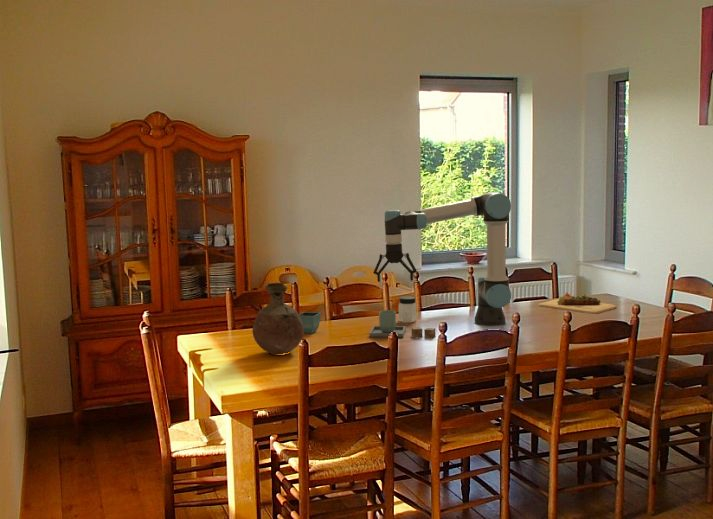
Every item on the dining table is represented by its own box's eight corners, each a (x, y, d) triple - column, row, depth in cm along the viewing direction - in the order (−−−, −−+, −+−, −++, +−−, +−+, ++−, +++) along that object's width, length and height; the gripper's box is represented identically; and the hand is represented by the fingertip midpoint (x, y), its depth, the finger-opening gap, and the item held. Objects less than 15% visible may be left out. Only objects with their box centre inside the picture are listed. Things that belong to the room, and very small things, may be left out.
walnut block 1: (419, 335, 356) (419, 327, 355) (422, 337, 352) (422, 328, 351) (411, 336, 355) (411, 327, 354) (414, 338, 351) (413, 329, 350)
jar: (398, 322, 385) (398, 299, 383) (398, 319, 393) (398, 296, 391) (416, 322, 384) (416, 298, 383) (416, 319, 392) (416, 296, 391)
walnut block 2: (435, 336, 352) (435, 328, 352) (432, 338, 349) (432, 330, 348) (427, 336, 354) (427, 327, 354) (424, 338, 350) (424, 329, 350)
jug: (261, 362, 314) (258, 289, 310) (247, 350, 334) (244, 282, 330) (311, 355, 323) (309, 285, 319) (294, 345, 342) (292, 278, 338)
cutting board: (537, 307, 420) (537, 293, 419) (560, 301, 436) (560, 288, 435) (594, 315, 395) (595, 300, 394) (617, 308, 410) (618, 294, 409)
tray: (405, 330, 367) (405, 326, 366) (403, 337, 351) (403, 333, 351) (373, 330, 369) (373, 326, 369) (369, 337, 354) (369, 333, 353)
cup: (394, 334, 356) (394, 313, 354) (378, 334, 357) (377, 313, 356) (397, 330, 363) (396, 310, 362) (381, 330, 365) (380, 309, 363)
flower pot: (297, 333, 365) (296, 315, 364) (304, 329, 373) (304, 311, 372) (314, 334, 362) (313, 316, 361) (321, 330, 370) (320, 312, 369)
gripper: (420, 241, 361) (422, 285, 364) (368, 243, 364) (370, 287, 367) (420, 243, 353) (421, 288, 356) (366, 245, 357) (368, 290, 359)
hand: (395, 288), depth 361 cm, fingers open, 13 cm apart
